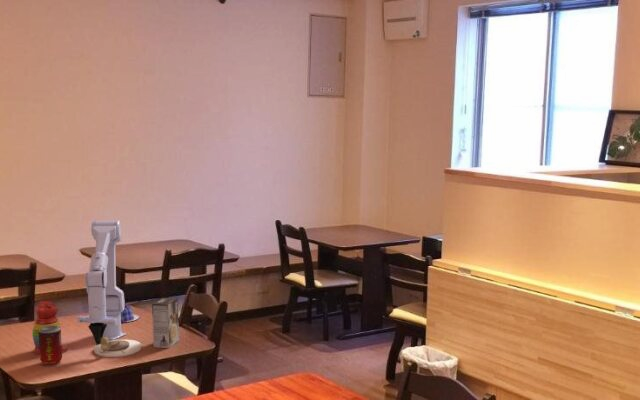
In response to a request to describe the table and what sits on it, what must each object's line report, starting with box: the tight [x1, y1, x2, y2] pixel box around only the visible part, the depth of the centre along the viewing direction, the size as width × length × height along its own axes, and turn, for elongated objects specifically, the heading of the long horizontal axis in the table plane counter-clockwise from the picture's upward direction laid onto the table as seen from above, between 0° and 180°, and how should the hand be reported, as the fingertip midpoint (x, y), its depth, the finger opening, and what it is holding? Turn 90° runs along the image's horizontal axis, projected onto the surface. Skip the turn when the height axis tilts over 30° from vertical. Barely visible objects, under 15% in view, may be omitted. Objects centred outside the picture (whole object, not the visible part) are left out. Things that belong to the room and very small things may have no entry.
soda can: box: [38, 326, 63, 367], centre depth 256 cm, size 7×7×12 cm
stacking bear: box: [32, 300, 68, 356], centre depth 269 cm, size 11×10×18 cm
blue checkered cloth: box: [121, 305, 140, 323], centre depth 309 cm, size 12×12×5 cm
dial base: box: [93, 339, 142, 358], centre depth 271 cm, size 16×16×1 cm
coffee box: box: [151, 297, 180, 349], centre depth 276 cm, size 9×6×16 cm
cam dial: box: [100, 337, 129, 351], centre depth 267 cm, size 13×9×5 cm
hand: (98, 343), depth 263 cm, fingers closed
